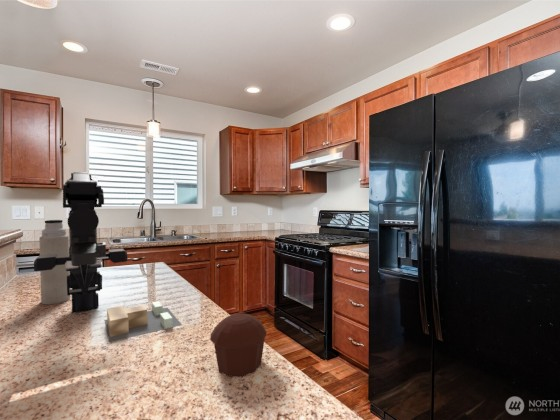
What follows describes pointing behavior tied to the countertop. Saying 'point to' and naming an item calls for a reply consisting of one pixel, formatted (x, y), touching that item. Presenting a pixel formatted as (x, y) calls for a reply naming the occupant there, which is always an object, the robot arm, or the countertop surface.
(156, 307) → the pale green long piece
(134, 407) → the countertop surface
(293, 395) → the countertop surface
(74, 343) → the countertop surface
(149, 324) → the mat
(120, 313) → the tee block
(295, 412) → the countertop surface
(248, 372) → the muffin
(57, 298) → the thermos bottle
